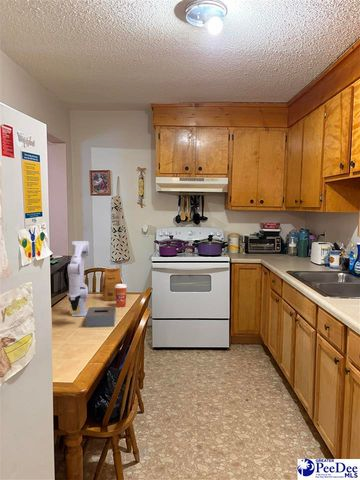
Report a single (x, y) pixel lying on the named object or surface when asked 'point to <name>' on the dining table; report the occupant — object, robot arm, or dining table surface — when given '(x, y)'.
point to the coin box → (100, 317)
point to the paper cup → (121, 295)
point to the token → (75, 311)
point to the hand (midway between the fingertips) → (75, 309)
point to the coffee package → (111, 283)
